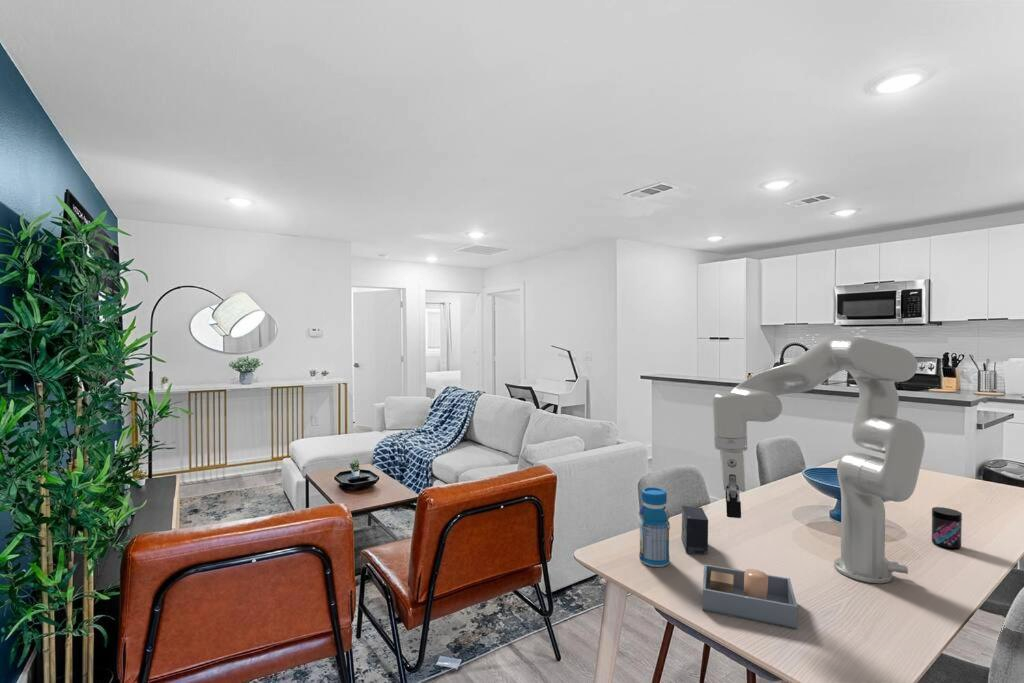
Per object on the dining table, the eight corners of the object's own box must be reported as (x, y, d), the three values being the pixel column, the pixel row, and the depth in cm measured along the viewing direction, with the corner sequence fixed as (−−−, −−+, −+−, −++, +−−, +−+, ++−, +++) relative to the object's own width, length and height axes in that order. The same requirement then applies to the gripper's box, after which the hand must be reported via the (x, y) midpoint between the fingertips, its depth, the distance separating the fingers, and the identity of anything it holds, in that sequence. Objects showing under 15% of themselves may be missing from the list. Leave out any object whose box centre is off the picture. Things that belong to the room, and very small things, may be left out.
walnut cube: (733, 595, 120) (733, 574, 120) (733, 605, 116) (733, 584, 115) (711, 590, 122) (711, 570, 122) (710, 600, 118) (710, 580, 117)
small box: (709, 555, 142) (709, 519, 142) (685, 553, 143) (685, 518, 143) (702, 540, 153) (702, 506, 152) (680, 538, 154) (680, 505, 154)
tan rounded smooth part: (762, 612, 113) (764, 582, 112) (740, 603, 116) (741, 574, 116) (769, 603, 116) (771, 574, 116) (747, 595, 120) (748, 566, 119)
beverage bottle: (652, 570, 133) (652, 497, 133) (632, 557, 141) (632, 488, 141) (676, 564, 137) (676, 492, 137) (655, 552, 145) (655, 484, 144)
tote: (789, 598, 119) (789, 578, 119) (797, 629, 107) (797, 607, 107) (704, 583, 127) (704, 564, 126) (702, 610, 114) (702, 589, 114)
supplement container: (925, 542, 149) (926, 508, 149) (941, 539, 151) (941, 505, 151) (951, 552, 143) (952, 516, 142) (967, 549, 145) (967, 513, 144)
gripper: (749, 452, 114) (752, 525, 114) (745, 435, 130) (747, 499, 130) (714, 450, 117) (717, 521, 117) (714, 434, 133) (717, 496, 133)
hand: (733, 509), depth 124 cm, fingers open, 9 cm apart
